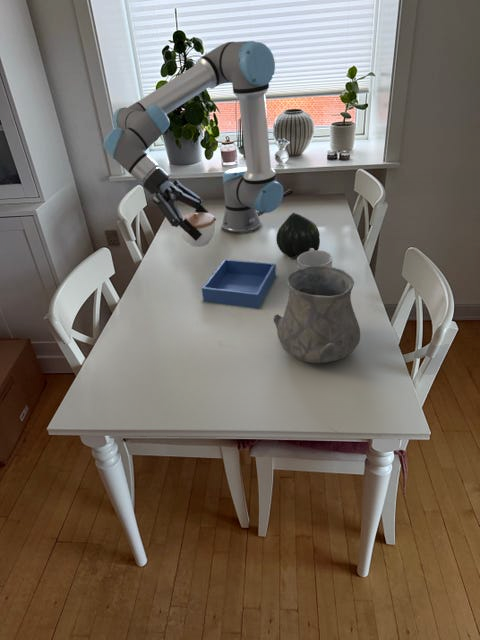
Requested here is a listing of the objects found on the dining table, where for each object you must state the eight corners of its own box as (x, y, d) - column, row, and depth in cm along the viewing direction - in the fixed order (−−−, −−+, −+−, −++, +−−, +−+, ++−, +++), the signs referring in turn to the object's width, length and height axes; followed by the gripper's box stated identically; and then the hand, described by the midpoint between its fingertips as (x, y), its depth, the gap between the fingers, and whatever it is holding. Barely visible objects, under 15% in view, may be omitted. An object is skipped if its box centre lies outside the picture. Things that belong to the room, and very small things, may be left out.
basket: (225, 271, 153) (224, 259, 150) (275, 276, 147) (275, 263, 145) (203, 301, 138) (201, 288, 135) (258, 308, 132) (257, 294, 130)
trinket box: (200, 232, 144) (197, 204, 139) (224, 240, 138) (221, 211, 133) (174, 244, 138) (170, 215, 133) (198, 253, 132) (194, 223, 127)
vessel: (292, 315, 128) (292, 251, 117) (369, 335, 118) (377, 267, 107) (256, 359, 113) (252, 291, 102) (341, 386, 103) (347, 313, 92)
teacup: (330, 289, 139) (331, 265, 134) (295, 287, 141) (295, 264, 136) (332, 267, 150) (333, 245, 145) (299, 266, 152) (299, 245, 148)
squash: (320, 251, 148) (319, 207, 150) (275, 253, 151) (274, 210, 153) (319, 262, 162) (318, 222, 164) (278, 264, 165) (277, 224, 166)
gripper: (162, 173, 142) (212, 222, 146) (124, 198, 124) (183, 254, 128) (174, 156, 137) (226, 207, 141) (137, 179, 119) (198, 238, 124)
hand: (206, 229), depth 135 cm, fingers closed on trinket box, 11 cm apart
